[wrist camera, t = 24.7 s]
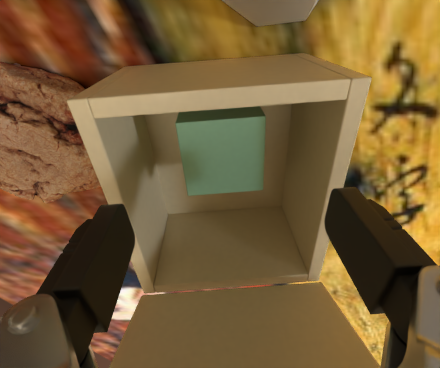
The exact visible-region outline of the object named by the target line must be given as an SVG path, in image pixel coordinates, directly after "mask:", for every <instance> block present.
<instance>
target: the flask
mask: <svg viewBox="0 0 440 368" xmlns="http://www.w3.org/2000/svg"><path fill="white" fill-rule="evenodd" d="M222 1H223V2H225V3H226V4H227V5H229V6H230V7H231V8H233V9H234V10H235V11H237V12H238V13H239V14H241V15H242V16H243V17H245V18H246V19H247V20H249V21H250V22H251V23H253V24H254V25H255V26H257V27H258V26H266V25H274V24H282V23H290V22H298V21H306V19H307V17H308V16H309V14H310V13H311V11H312V10H313V8H314V7H315V5H316V4H317V2H318V1H319V0H222Z"/></svg>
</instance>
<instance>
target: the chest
mask: <svg viewBox="0 0 440 368" xmlns="http://www.w3.org/2000/svg"><path fill="white" fill-rule="evenodd" d="M370 83H371V77H369V76H366V75H364V74H361V73H358V72H355V71H353V70H350V69H347V68H344V67H342V66H339V65H336V64H333V63H331V62H328V61H325V60H322V59H320V58H317V57H314V56H311V55H309V54H306V53H297V54H284V55H271V56H258V57H245V58H231V59H218V60H205V61H192V62H178V63H165V64H152V65H139V66H126V67H123V68H121V69H120V70H118V71H116V72H115V73H113V74H111V75H110V76H108V77H106V78H104V79H103V80H101V81H99V82H98V83H96V84H94V85H92V86H91V87H89V88H87V89H86V90H84V91H82V92H80V93H79V94H77V95H75V96H74V97H72V98H70V99H68V100H67V103H68V106H69V108H70V111H71V113H72V116H73V118H74V120H75V123H76V125H77V128H78V130H79V133H80V135H81V138H82V140H83V143H84V145H85V148H86V150H87V153H88V155H89V158H90V160H91V163H92V165H93V168H94V170H95V173H96V175H97V177H98V180H99V182H100V185H101V187H102V190H103V192H104V195H105V197H106V200H107V202H108V204H123V205H124V206H125V208H126V211H127V213H128V216H129V219H130V222H131V225H132V227H133V230H134V234H135V246H134V250H133V253H132V256H131V262H132V264H133V267H134V269H135V272H136V274H137V277H138V279H139V282H140V284H141V287H142V289H143V291H144V293H155V292H171V291H185V290H198V289H212V288H225V287H239V286H252V285H266V284H280V283H293V282H306V281H318V280H319V277H320V273H321V270H322V266H323V262H324V258H325V254H326V250H327V247H328V243H329V237H328V235H327V233H326V230H325V224H324V220H325V215H326V211H327V206H328V202H329V198H330V194H331V191H332V190H333V189H334V188H343V186H344V182H345V178H346V174H347V171H348V167H349V163H350V159H351V155H352V152H353V148H354V144H355V140H356V136H357V132H358V129H359V125H360V121H361V117H362V113H363V110H364V106H365V102H366V98H367V94H368V91H369V87H370ZM256 106H260V107H261V109H262V111H263V112H264V114H265V116H266V129H265V156H264V182H263V190H258V191H245V192H232V193H219V194H206V195H194V196H188V194H187V188H186V183H185V177H184V171H183V165H182V160H181V154H180V148H179V143H178V137H177V131H176V125H175V123H176V120H177V116H178V113H179V112H189V111H203V110H216V109H229V108H243V107H256Z"/></svg>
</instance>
